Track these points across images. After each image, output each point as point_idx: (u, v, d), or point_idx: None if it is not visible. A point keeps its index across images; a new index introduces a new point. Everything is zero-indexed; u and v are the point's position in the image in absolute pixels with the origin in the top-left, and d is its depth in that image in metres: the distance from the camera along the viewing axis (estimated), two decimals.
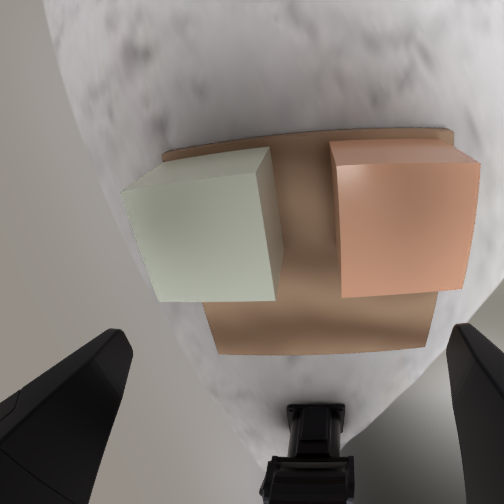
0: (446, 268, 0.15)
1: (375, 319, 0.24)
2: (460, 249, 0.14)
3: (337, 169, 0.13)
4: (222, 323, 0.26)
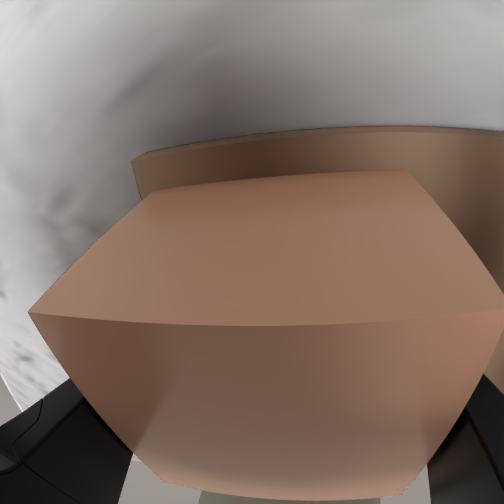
0: (391, 388, 0.04)
1: None
2: (311, 362, 0.04)
3: (168, 481, 0.08)
4: None
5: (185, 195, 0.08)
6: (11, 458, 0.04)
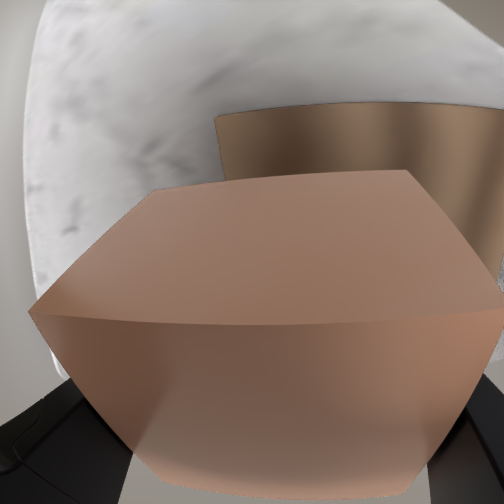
0: (392, 387, 0.04)
1: (468, 191, 0.16)
2: (312, 361, 0.04)
3: (169, 481, 0.08)
4: None
5: (185, 195, 0.08)
6: (11, 458, 0.04)
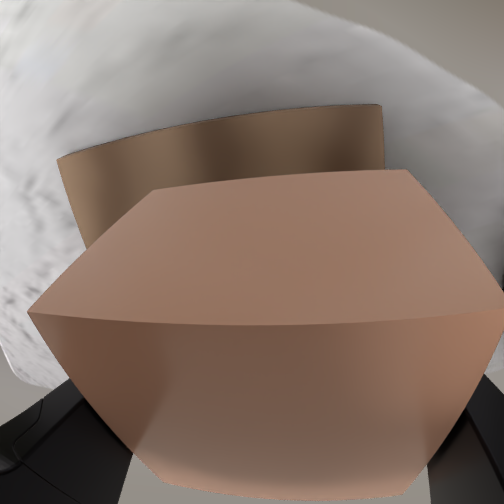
0: (392, 388, 0.04)
1: None
2: (312, 362, 0.04)
3: (168, 482, 0.08)
4: None
5: (185, 194, 0.08)
6: (11, 458, 0.04)
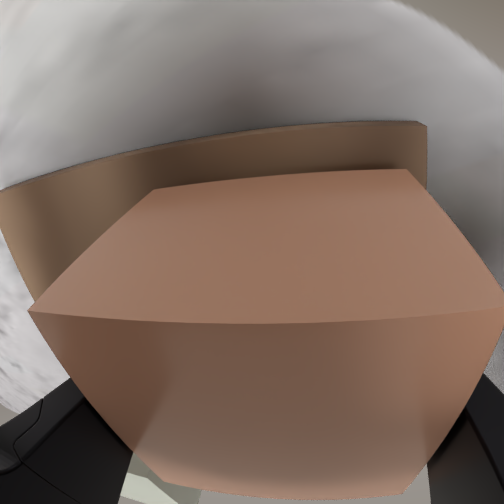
0: (392, 387, 0.04)
1: None
2: (312, 360, 0.04)
3: (168, 481, 0.08)
4: None
5: (185, 194, 0.08)
6: (11, 458, 0.04)
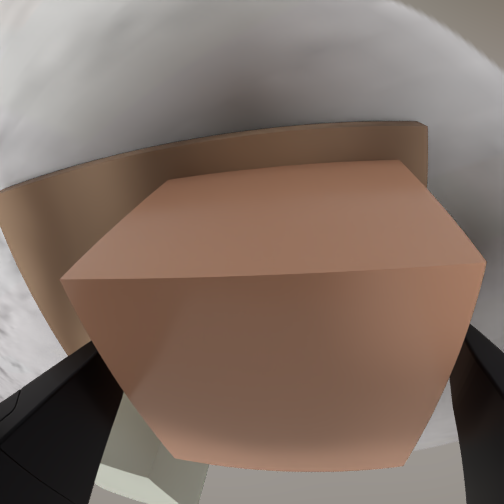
0: (387, 337, 0.05)
1: None
2: (317, 309, 0.05)
3: (179, 457, 0.09)
4: None
5: (199, 183, 0.09)
6: None
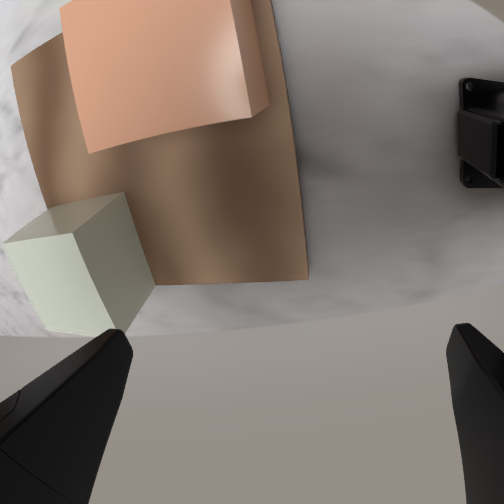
0: None
1: None
2: None
3: (91, 151, 0.12)
4: (243, 266, 0.20)
5: None
6: None
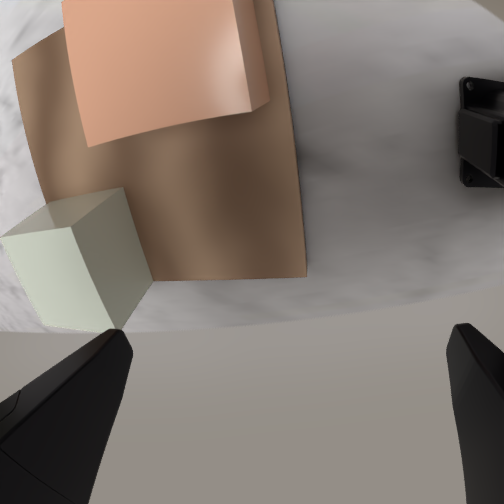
0: None
1: None
2: None
3: (91, 145, 0.12)
4: (242, 262, 0.20)
5: None
6: None
